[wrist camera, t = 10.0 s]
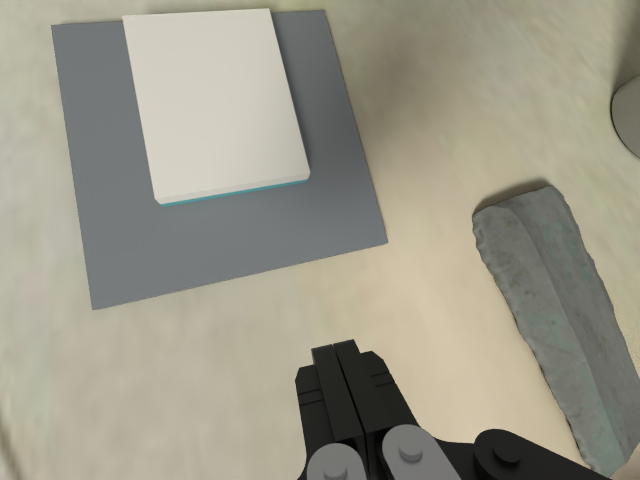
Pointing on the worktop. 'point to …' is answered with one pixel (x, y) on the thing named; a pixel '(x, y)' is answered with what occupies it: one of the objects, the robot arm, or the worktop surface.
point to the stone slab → (565, 320)
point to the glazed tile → (213, 104)
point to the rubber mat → (217, 213)
